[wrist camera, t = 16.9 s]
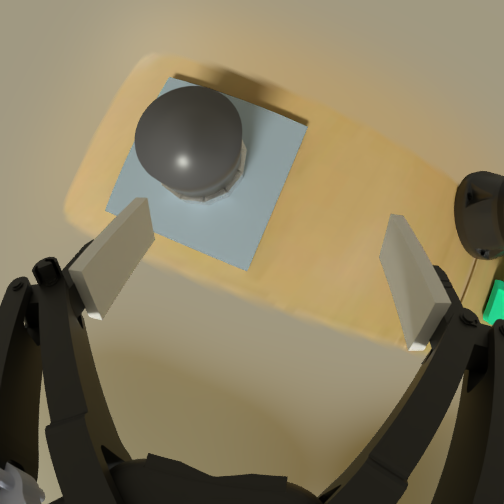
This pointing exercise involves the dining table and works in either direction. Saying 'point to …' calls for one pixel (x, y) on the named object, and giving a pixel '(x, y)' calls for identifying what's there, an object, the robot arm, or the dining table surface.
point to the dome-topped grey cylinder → (190, 141)
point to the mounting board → (229, 209)
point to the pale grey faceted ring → (223, 193)
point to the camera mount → (495, 303)
